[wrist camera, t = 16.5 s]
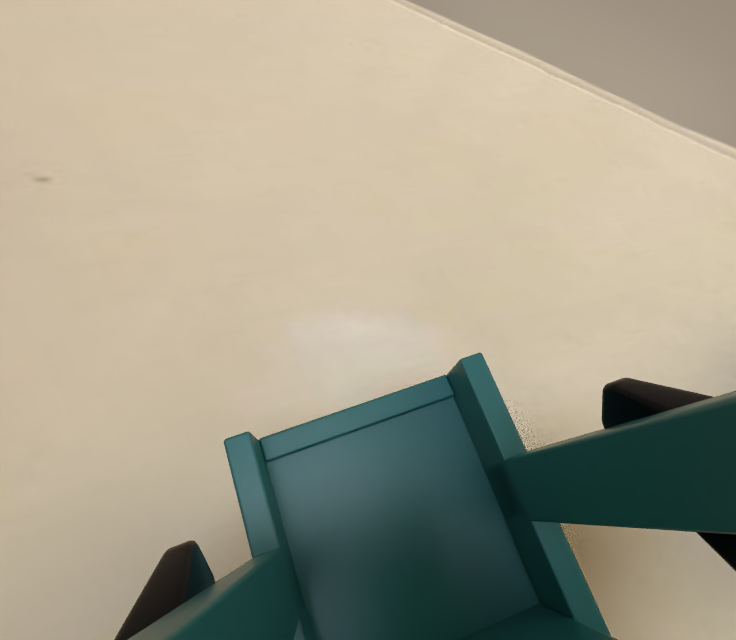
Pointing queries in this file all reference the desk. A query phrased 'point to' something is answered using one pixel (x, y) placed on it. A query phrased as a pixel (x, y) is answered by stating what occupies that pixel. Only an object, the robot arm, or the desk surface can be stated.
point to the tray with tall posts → (448, 517)
